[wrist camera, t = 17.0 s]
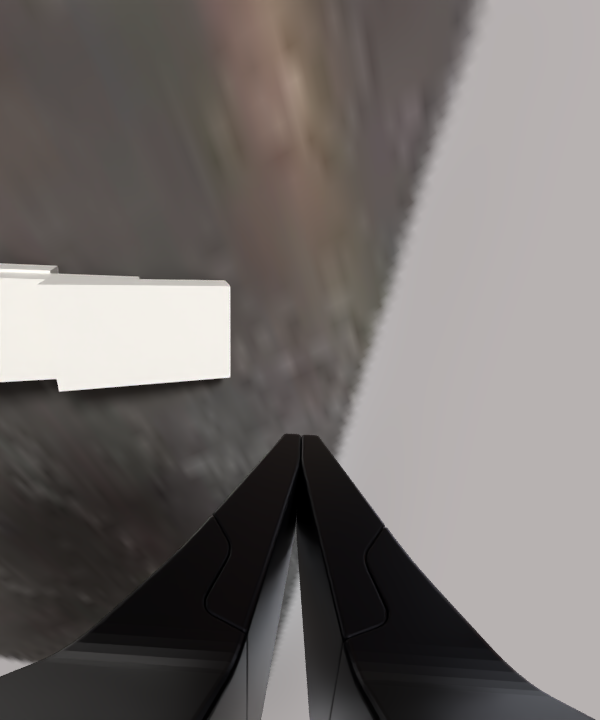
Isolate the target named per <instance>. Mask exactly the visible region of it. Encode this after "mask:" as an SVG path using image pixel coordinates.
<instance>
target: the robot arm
mask: <svg viewBox="0 0 600 720" xmlns="http://www.w3.org/2000/svg"><path fill="white" fill-rule="evenodd" d="M296 516H297V522H296ZM295 527H296V530H297V547H298V561H299V575H300V590H301V604H302V618H303V632H304V645H305V660H306V674H307V688H308V703H309V716H310V720H595V719H593V718H591V717H589V716H587V715H586V714H584V713H582V712H580V711H578V710H576V709H574V708H572V707H570V706H568V705H566V704H565V703H563V702H561V701H559V700H557V699H555V698H553V697H551V696H550V695H548V694H546V693H544V692H543V691H541V690H539V689H538V688H537V687H535V686H534V685H532V684H531V683H529V682H528V681H527V680H526V679H524V678H523V677H522V676H521V675H519V674H518V673H517V672H516V671H515V670H514V669H513V668H512V667H510V666H509V665H508V664H507V663H506V662H505V661H504V660H503V659H502V658H501V657H500V656H499V655H498V654H497V653H496V652H495V651H494V650H493V649H492V648H491V647H490V646H489V644H488V643H487V642H486V641H485V640H484V639H483V638H482V637H481V636H480V635H479V634H478V633H477V631H476V630H475V629H474V628H473V627H472V626H471V625H470V624H469V623H468V622H467V621H466V619H465V618H464V617H463V616H462V615H461V614H460V613H459V612H458V611H457V610H456V609H455V608H454V606H453V605H452V604H451V603H450V602H449V601H448V600H447V599H446V598H445V597H444V596H443V595H442V593H441V592H440V591H439V590H438V589H437V588H436V587H435V586H434V585H433V584H432V583H431V581H430V580H429V579H428V578H427V577H426V576H425V575H424V573H423V572H422V571H421V570H420V569H419V568H418V567H417V565H416V564H415V563H414V562H413V561H412V560H411V558H410V557H409V556H408V554H407V553H406V552H405V551H404V549H403V548H402V547H401V546H400V544H399V543H398V542H397V541H396V539H395V538H394V537H393V535H392V534H391V532H390V531H389V530H388V528H385V525H384V523H383V522H382V521H381V519H380V518H379V517H378V515H377V514H376V513H375V511H374V510H373V509H372V507H371V506H370V505H369V503H368V502H367V501H366V499H365V498H364V497H363V495H362V494H361V493H360V491H359V490H358V489H357V487H356V486H355V484H354V483H353V482H352V481H351V479H350V478H349V476H348V475H347V474H346V472H345V471H344V470H343V468H342V467H341V466H340V464H339V463H338V462H337V460H336V459H335V458H334V456H333V455H332V454H331V452H330V451H329V450H328V448H327V447H326V446H325V444H324V443H323V442H322V440H321V439H320V438H319V437H318V436H316V435H303V436H302V438H301V436H300V435H299V434H284V435H283V436H282V438H281V439H280V440H279V441H278V442H277V443H276V444H275V445H274V446H273V448H272V449H271V450H270V451H269V452H268V453H267V454H266V455H265V456H264V458H263V459H262V460H261V461H260V462H259V463H258V464H257V465H256V466H255V468H254V469H253V470H252V471H251V472H250V473H249V474H248V475H247V477H246V478H245V479H244V480H243V481H242V482H241V483H240V484H239V485H238V487H237V488H236V489H235V490H234V491H233V492H232V493H231V494H230V495H229V497H228V498H227V499H226V500H225V501H224V502H223V503H222V504H221V505H220V507H219V508H218V509H217V510H216V511H215V512H214V513H213V516H210V517H209V518H208V520H207V521H206V522H205V523H204V524H203V525H202V526H201V527H200V529H199V530H198V531H197V532H196V533H195V534H194V535H193V536H192V537H191V538H190V539H189V540H188V541H187V542H186V543H185V544H184V545H183V546H182V547H181V548H180V549H179V550H178V551H177V552H176V553H175V554H174V555H173V556H172V557H171V558H169V559H168V560H167V561H166V562H165V563H164V564H163V565H162V566H161V567H160V568H159V569H158V570H157V571H155V572H154V573H153V574H152V575H151V576H150V577H149V578H148V579H146V580H145V581H144V582H143V583H142V584H141V585H140V586H139V587H137V588H136V589H135V590H134V591H133V592H132V593H131V594H130V595H128V596H127V597H126V598H125V599H124V600H123V601H122V602H121V603H120V604H118V605H117V606H116V607H115V608H114V609H113V610H112V611H111V612H109V613H108V614H107V615H106V616H105V617H104V618H103V619H102V620H100V621H99V622H98V623H97V624H96V625H95V626H93V627H92V628H91V629H90V630H89V631H87V632H86V633H85V634H84V635H82V636H81V637H80V638H78V639H77V640H76V641H74V642H73V643H71V644H70V645H68V646H67V647H65V648H63V649H62V650H60V651H59V652H57V653H55V654H53V655H51V656H49V657H47V658H45V659H43V660H41V661H38V662H36V663H33V664H31V665H28V666H26V667H23V668H21V669H18V670H16V671H13V672H11V673H8V674H6V675H3V676H1V677H0V720H261V716H262V711H263V705H264V700H265V695H266V689H267V684H268V678H269V673H270V667H271V662H272V656H273V651H274V645H275V640H276V634H277V628H278V623H279V617H280V612H281V606H282V601H283V595H284V590H285V584H286V579H287V573H288V568H289V562H290V557H291V551H292V546H293V540H294V534H295Z"/></svg>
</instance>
